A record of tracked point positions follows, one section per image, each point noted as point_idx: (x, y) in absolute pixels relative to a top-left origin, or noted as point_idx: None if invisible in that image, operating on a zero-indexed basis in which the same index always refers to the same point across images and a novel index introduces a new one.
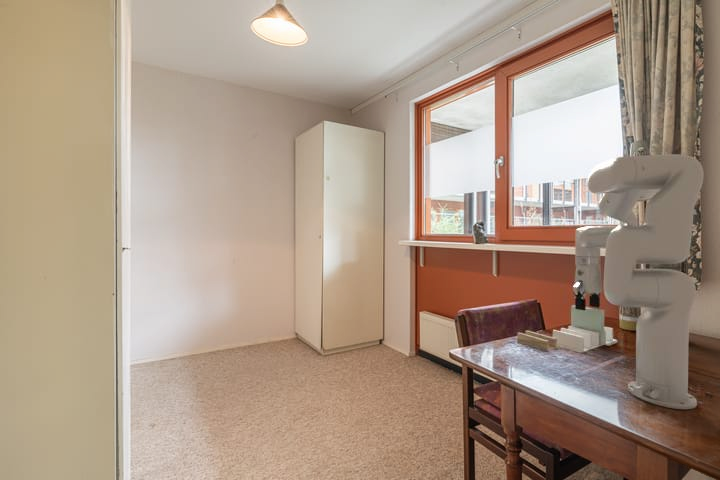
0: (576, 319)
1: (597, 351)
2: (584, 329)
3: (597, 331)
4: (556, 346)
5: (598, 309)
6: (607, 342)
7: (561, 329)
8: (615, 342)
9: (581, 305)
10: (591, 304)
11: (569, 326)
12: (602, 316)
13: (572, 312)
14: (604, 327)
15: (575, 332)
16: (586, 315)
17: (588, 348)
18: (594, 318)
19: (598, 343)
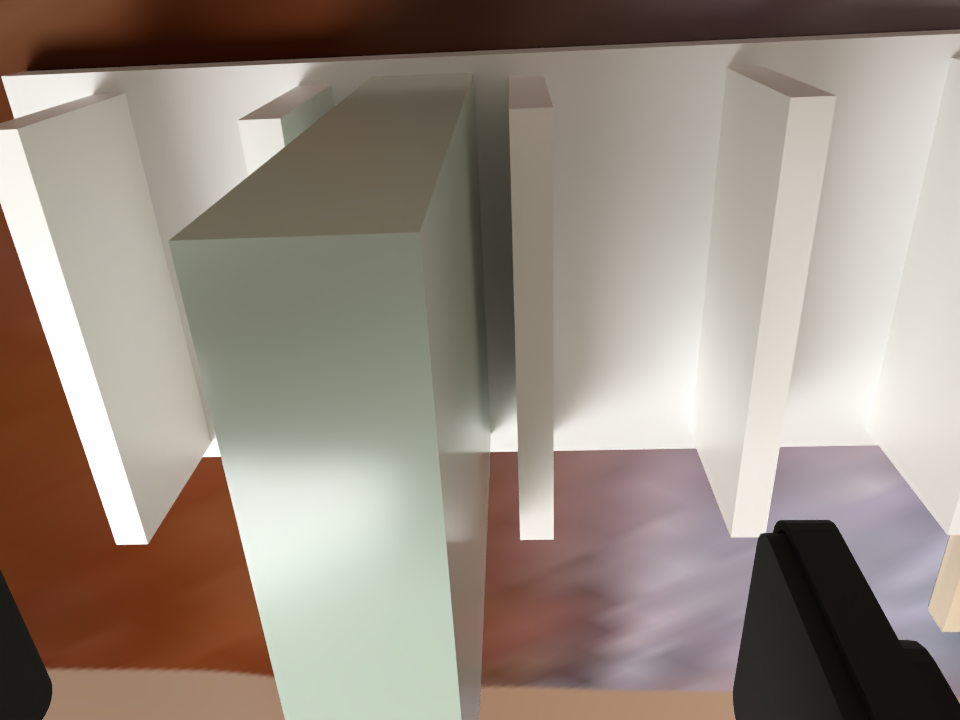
0: (477, 551)
1: (672, 6)
2: (530, 338)
3: (464, 163)
4: None
5: (230, 401)
6: (258, 87)
7: (762, 514)
8: (72, 69)
9: (940, 692)
10: (11, 706)
11: (551, 523)
12: (344, 184)
13: (476, 702)
14: (59, 249)
15: (792, 335)
16: (462, 479)
17: (795, 75)
18: (456, 304)
19: (529, 79)
